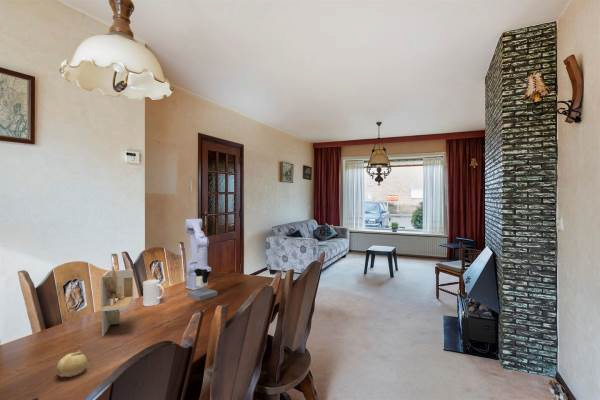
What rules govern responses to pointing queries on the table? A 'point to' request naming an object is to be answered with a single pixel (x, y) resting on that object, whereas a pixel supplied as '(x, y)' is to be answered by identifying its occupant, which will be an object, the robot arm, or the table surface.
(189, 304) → the table surface
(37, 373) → the table surface
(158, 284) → the mug
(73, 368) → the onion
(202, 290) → the plate
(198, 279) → the block
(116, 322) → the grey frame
